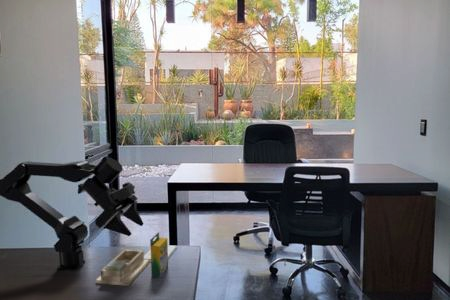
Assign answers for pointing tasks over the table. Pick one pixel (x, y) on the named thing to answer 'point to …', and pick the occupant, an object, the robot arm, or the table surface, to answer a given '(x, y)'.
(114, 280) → the organizer
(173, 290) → the table surface
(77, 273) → the table surface
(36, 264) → the table surface
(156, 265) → the crayon box
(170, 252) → the external hard drive
